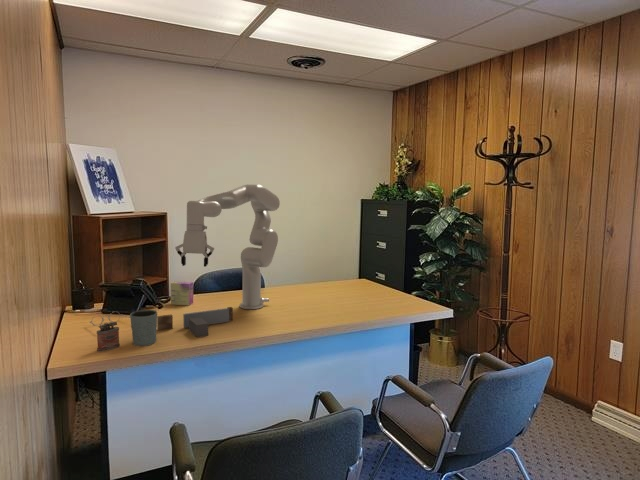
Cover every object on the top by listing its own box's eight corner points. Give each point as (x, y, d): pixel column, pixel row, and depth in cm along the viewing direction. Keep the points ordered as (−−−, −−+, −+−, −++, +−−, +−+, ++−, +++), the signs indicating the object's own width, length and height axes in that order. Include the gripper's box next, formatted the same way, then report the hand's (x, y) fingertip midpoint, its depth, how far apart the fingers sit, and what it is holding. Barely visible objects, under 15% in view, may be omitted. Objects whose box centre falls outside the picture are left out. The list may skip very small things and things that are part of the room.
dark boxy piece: (200, 329, 189) (200, 317, 188) (208, 335, 180) (208, 323, 180) (189, 331, 186) (189, 318, 185) (196, 337, 178) (196, 325, 177)
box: (193, 303, 230) (193, 281, 229) (189, 305, 225) (189, 283, 223) (175, 302, 231) (174, 280, 230) (170, 304, 226) (170, 282, 224)
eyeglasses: (122, 319, 200) (122, 309, 199) (143, 328, 188) (143, 317, 188) (86, 327, 187) (86, 316, 187) (106, 337, 176) (106, 326, 175)
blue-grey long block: (227, 319, 201) (227, 307, 200) (229, 321, 199) (229, 309, 198) (182, 326, 190) (182, 313, 190) (184, 327, 188) (184, 314, 187)
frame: (231, 319, 204) (231, 306, 203) (232, 320, 202) (232, 307, 201) (157, 329, 186) (157, 316, 186) (158, 330, 185) (158, 317, 184)
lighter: (99, 352, 159) (98, 326, 158) (95, 349, 162) (94, 324, 160) (121, 346, 165) (120, 321, 164) (117, 344, 167) (116, 319, 166)
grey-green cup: (145, 348, 164) (144, 317, 163) (124, 344, 168) (123, 314, 167) (163, 339, 174) (162, 311, 173) (143, 336, 177) (143, 308, 176)
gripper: (216, 228, 196) (215, 265, 198) (178, 227, 196) (177, 263, 197) (212, 229, 189) (212, 267, 191) (173, 228, 188) (172, 266, 190)
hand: (194, 265), depth 194 cm, fingers open, 9 cm apart
